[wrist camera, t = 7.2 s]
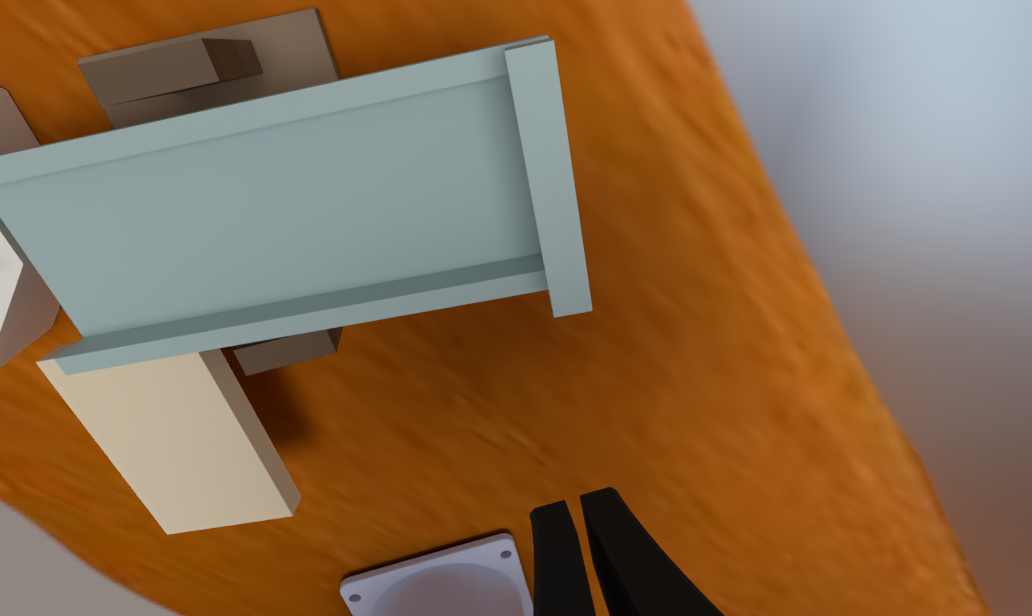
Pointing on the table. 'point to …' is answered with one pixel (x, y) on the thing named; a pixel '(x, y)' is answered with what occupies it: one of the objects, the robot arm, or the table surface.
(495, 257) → the lever
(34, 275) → the bowl
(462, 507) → the table surface
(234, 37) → the stand
